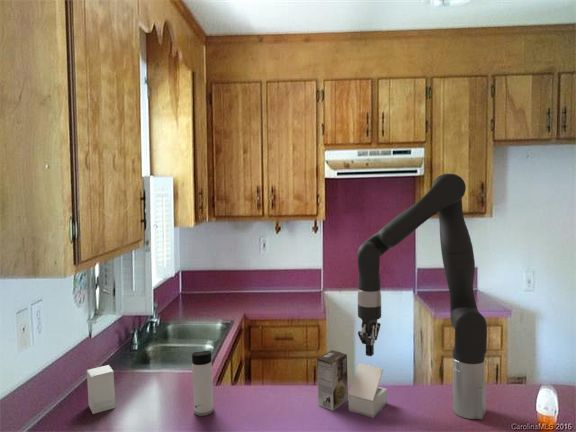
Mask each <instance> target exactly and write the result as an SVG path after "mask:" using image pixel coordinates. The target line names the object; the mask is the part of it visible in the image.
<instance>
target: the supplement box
mask: <svg viewBox="0 0 576 432" xmlns="http://www.w3.org/2000/svg"><path fill="white" fill-rule="evenodd" d="M114 372H115V371H114V369H112V367H111V366H110V364H107V365H103V366H98V367H94V368H90V369H86V379H87V380H86V381H87V397H88V399H87V400H88V407H89V409H90V411H91V413H92V415H94V414H99V413H102V412H105V411H108V410H112V409H115V408H116V394H115V389H116V388H115V373H114Z"/></svg>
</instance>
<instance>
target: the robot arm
mask: <svg viewBox="0 0 576 432" xmlns="http://www.w3.org/2000/svg"><path fill="white" fill-rule="evenodd" d="M466 188H467V187H466V183H465V181H464V178H462V177H461V176H460V175H457V174H455V173H443V174H441V175H438V176H437V177H436V178H435V179H434V181H433V182H432V185H431V188H430V189H429V190H428V191H427V192H426V193H425V194H424V195H423V197H421V198H420V199H419V200H418V201H417V202H415V203H413V205H411V206H410V207H408V208H407V209H405V210H404V211H402V212H400V213H399V214H398V215H397V216H395V217H394V218H393V219H391V220H390V221H389V222H387V223H386V224H385V225H384V226H382V227H381V228H380V229H379V231H378V232H376V233H374V234H373V235H371V236H370V237H369V238H367V240H365V241H363V243H361V245H360V246H359V247H358V250H357V269H358V280H357V281H358V283H357V284H358V285H357V287H358V290H357V317H358V318H359V319H361V320H362V321H361V330H359V331H358V332H357V335H358V337H359V340H360V342H361V343H362V344H361V345H365V356H367V357H372V356H373V355H375V353H374V352H375V349H374V348H375V347H374V346H375V345H374V344H376V343H375V342H376V341H377V340H378V337H379V332H380V328H381V325H382V324H381V323H380V322H378V320H379V319H381V318H382V293H381V274H380V261H381V259H380V258H381V257H382V256H383V254H386V252H388V251H389V250H390V249H391V248H394V247H395V246H398V245H399V244H400V243H401V242H403V241H404V240H405V239H406V238H407V237H408V236H410V235H411V234H412V233H413V232H414V231H416V230H417V229H418V228H419V227H421V226H422V225H423V224H424V223H425V222H427V221H428V220H429V219H430V218H432V217H434V216H435V215H436V214H437V215H438V222H439V241H440V250H441V257H442V264H443V270H444V275H445V280H446V283H447V287H448V291H449V308H450V309H449V310H450V314H449V315H450V316H449V317H450V323H451V326H452V327H453V329H454V347H453V348H452V411H453V413H454V414H456V415H457V416H459V417H461V418H464V419H470V420H480V421H481V420H483V419H484V417H485V416H486V415H485V414H486V412H487V382H486V381H485V356H486V354H487V350H488V349H487V348H488V347H487V345H488V344H487V343H488V326H487V325H488V324H487V321H486V319H485V317H484V316H483V315H482V313H480V312H479V309H478V306H477V303H476V297H475V294H474V282H475V281H474V280H475V273H476V272H475V270H476V263H475V262H476V261H475V255H474V247H473V244H472V243H473V242H472V240H471V235H470V233H469V229H468V227H467V224H466V221H465V218H464V211H463V200H462V199H463V197H464V196H465V193H466V190H467V189H466Z"/></svg>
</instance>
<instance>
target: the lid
mask: <svg viewBox="0 0 576 432" xmlns="http://www.w3.org/2000/svg"><path fill="white" fill-rule="evenodd" d="M383 372H384V368H382V367H377V366H373V365H368V364H364V363H360V362H359V363H358V365H357V368H356V370H355V374H354V376H353V379H352V381H351V385H350V387H349V388H348V396H349V395H351V396H355V397H358V398H362V399H366V400H369V401H373V400H374V397H375V394H376V391H377V388H378V387H379V384H380V381H381V379H382V375H383Z"/></svg>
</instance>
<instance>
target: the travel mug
mask: <svg viewBox="0 0 576 432" xmlns="http://www.w3.org/2000/svg"><path fill="white" fill-rule="evenodd" d="M212 362H213V361H212V352H211V351H210V350H203V351H195V352H193V353H191V366H192V390H193V391H192V392H193V394H192V395H193V413H194V415H196V416H199V417H203V416H205V417H206V416H208V415H211V414H212V413H213V412H214V387H213V386H214V385H213V382H214V381H213V363H212Z"/></svg>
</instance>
